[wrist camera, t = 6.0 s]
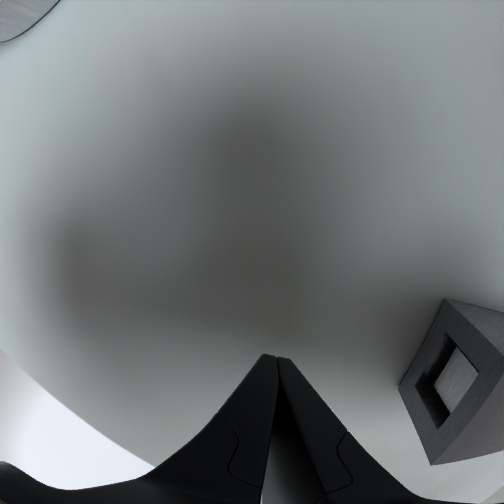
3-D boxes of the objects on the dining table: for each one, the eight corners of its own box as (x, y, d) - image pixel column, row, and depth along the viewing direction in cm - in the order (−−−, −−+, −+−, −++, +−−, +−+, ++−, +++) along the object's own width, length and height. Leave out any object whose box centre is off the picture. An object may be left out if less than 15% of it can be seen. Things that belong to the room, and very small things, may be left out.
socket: (518, 317, 10) (571, 364, 6) (476, 391, 12) (513, 447, 7) (444, 298, 10) (510, 363, 6) (397, 388, 12) (430, 465, 7)
